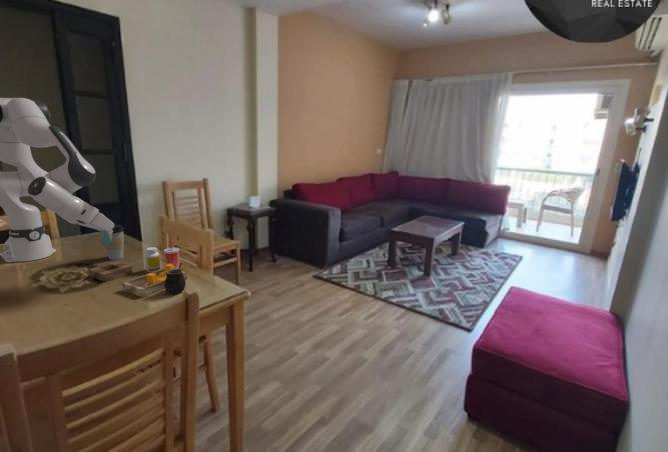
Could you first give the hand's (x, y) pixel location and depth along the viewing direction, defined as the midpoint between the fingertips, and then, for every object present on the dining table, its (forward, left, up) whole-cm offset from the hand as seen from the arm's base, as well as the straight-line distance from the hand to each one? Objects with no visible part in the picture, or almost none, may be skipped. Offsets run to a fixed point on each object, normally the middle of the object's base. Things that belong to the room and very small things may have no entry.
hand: (107, 231), depth 139 cm
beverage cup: (+16, +16, -19) cm, 29 cm away
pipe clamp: (+25, +3, -19) cm, 31 cm away
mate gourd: (+35, +2, -19) cm, 40 cm away
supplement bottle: (+10, +11, -19) cm, 24 cm away
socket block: (0, -1, -18) cm, 18 cm away
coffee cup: (-18, +12, -19) cm, 29 cm away
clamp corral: (+24, +2, -18) cm, 30 cm away
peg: (0, -1, -5) cm, 5 cm away
